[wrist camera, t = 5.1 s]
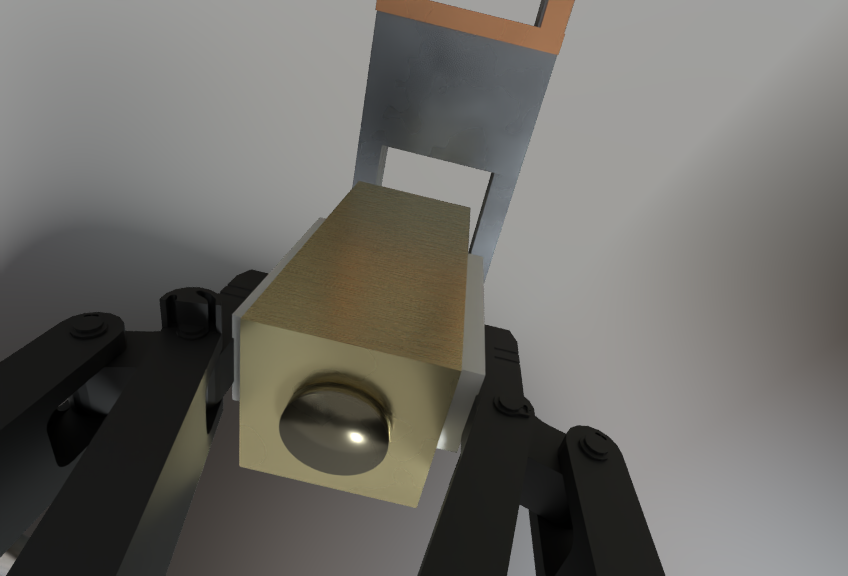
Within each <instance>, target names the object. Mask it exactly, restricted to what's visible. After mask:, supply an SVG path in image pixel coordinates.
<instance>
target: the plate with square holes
mask: <svg viewBox="0 0 848 576" xmlns="http://www.w3.org/2000/svg"><path fill="white" fill-rule="evenodd" d="M574 1H575V0H541V4H540V7H539V11H538V14H537V18H536V21H535V25H534V26H531V25H527V24H523V23H519V22H515V21H511V20H507V19H502V18H499V17H494V16H491V15H487V14H482V13H478V12H474V11H470V10H466V9H462V8H458V7H454V6H450V5H446V4H442V3H438V2H434V1H430V0H377V3H376V10H377V14H376V21H375V29H374V36H373V43H372V50H371V58H370V64H369V72H368V79H367V87H366V94H365V100H364V108H363V116H362V122H361V130H360V137H359V144H358V151H357V158H356V166H355V173H354V180H353V187H354V186H355V185H356V184H357V183H358V181H362V182H366V183H370V184H374V185H378V186H381V185H382V179H383V173H384V167H385V161H386V155H387V149H388V147H392V148H396V149H400V150H404V151H408V152H412V153H416V154H420V155H424V156H428V157H432V158H436V159H441V160H444V161H448V162H453V163H457V164H460V165H464V166H468V167H473V168H476V169H480V170H485V171H489V172H492V173H491V176H490V180H489V183H488V186H487V190H486V193H485V197H484V200H483V204H482V207H481V211H480V214H479V218H478V221H477V224H476V228H475V231H474V235H473V238H472V242H471V245H470V248H469V252H468V253H469V254H473V255H477V256H481V257H483V272H484V281H485V278H486V275H487V272H488V269H489V266H490V263H491V260H492V257H493V253H494V250H495V247H496V244H497V241H498V238H499V235H500V232H501V229H502V225H503V222H504V219H505V216H506V213H507V210H508V207H509V204H510V201H511V197H512V194H513V191H514V188H515V185H516V182H517V179H518V175H519V173H520V169H521V166H522V163H523V160H524V157H525V154H526V151H527V148H528V144H529V142H530V138H531V135H532V132H533V129H534V126H535V123H536V120H537V116H538V113H539V110H540V107H541V104H542V101H543V98H544V95H545V92H546V89H547V85H548V82H549V79H550V76H551V73H552V70H553V67H554V63H555V61H556V57H557V55H558V54H559V51H560V48H561V45H562V42H563V39H564V36H565V34H564V32H565V29H566V26H567V23H568V20H569V17H570V14H571V11H572V8H573V4H574ZM353 187H352V188H353Z"/></svg>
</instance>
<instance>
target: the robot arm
mask: <svg viewBox="0 0 848 576" xmlns="http://www.w3.org/2000/svg"><path fill="white" fill-rule="evenodd" d="M325 220H326V219H324V218H319V219H318V220H317V221H316V222H315V223H314V224H313V226H312V227H311V228H310V229H309V230H308V231H307V232H306V233H305V234H304V236H303V237H302V238H301V239H300V240H299V241H298V242H297V243H296V244H295V246H294V247H293V248H292V249H291V250H290V251H289V252H288V253H287V254H286V256H285V257H284V258H283V259H282V260H281V261H280V262H279V263H278V264H277V265H276V267H275V268H274V269H273V270H272V271H271V272H270V273H269V274H268V273H264V272H259V271H255V270H249V271H246V272H244V273H242V274H239V275H237V276H236V277H235V278H234V279H233V280H232V281H231V282H230V283H229V284H228V286H226V287H224V288H223V289H222V290H221V292H220V294H219V293H218V294H217V293H215V292H213V291H211V290H209V289H204V288H200V287H186V288H181V289H175V290H173V291H171V292H168V293H166V294H165V295H164V296H163V297H161V298H160V309H161V319H162V330H161V331H154V332H145V331H125V325H124V322H123V321H122V320H121V318H120V317H118V316H116V315H113V314H111V313H102V312H93V313H84V314H80V315H76V316H72V317H70V318H68V319H66V320H64V321H62V322H60V323H59V324H57V325H56V326H54V327H53V328H51V329H50V330H48V331H47V332H45V333H44V334H42V335H41V336H39V337H38V338H36V339H35V340H33V341H32V342H30V343H29V344H27V345H26V346H24V347H23V348H21V349H20V350H18V351H17V352H15V353H13V354H12V355H11V356H9V357H7V358H6V359H4V360H3V361H1V362H0V557H1V556H2V555H3V554H4V553H5V552H6V551H7V550H8V549H9V548H10V547H11V545H12V544H13V543H14V542H15V541H16V540H17V539H18V538H19V537H20V536H21V535H22V534H23V533H24V531H26V529H27V528H28V527H29V526H30V525H31V524H32V523H33V522H34V521H35V520H36V519H37V518H38V517H39V516H40V514H41V513H42V512H43V511H44V510H45V509H46V508H47V507H48V506H49V505H50V504H51V503H52V504H51V505H50V507H49V509H48V510H47V512H46V513H45V515H44V517H43V518H42V520H41V521H40V523H39V524H38V526H37V528H36V529H35V531H34V532H33V534H32V535H31V537H30V539H29V540H28V542H27V543H26V545H25V547H24V548H23V550H22V551H21V553H20V554H19V556H18V558H17V559H16V561H15V562H14V564H13V566H12V567H11V569H10V570H9V572H8V573H7V575H6V576H166V573H167V570H168V567H169V564H170V561H171V559H172V556H173V552H174V550H175V547H176V544H177V541H178V538H179V535H180V532H181V530H182V527H183V524H184V521H185V518H186V515H187V513H188V510H189V507H190V504H191V501H192V498H193V495H194V492H195V490H196V487H197V484H198V481H199V478H200V475H201V472H202V470H203V466H204V464H205V461H206V458H207V455H208V452H209V449H210V447H211V444H212V441H213V438H214V435H215V432H216V429H217V426H218V423H219V421H220V417H221V415H222V412H223V396H224V395H225V394H226V392H227V391H228V389H229V388H230V386H231V385H232V394H233V395H232V399H233V400H237V401H240V318H241V317H242V316H243V315H244V314H245V313H246V311H247V310H248V309H249V308H250V307H251V306H252V304H253V303H254V302H255V301H256V300H257V299H258V297H259V296H260V295H261V294H262V293H263V292H264V291H265V289H266V288H267V287H268V286H269V285H270V284H271V282H272V281H273V280H274V279H275V278H276V277H277V275H278V274H279V273H280V272H281V271H282V270H283V268H284V267H285V266H286V265H287V264H288V263H289V261H290V260H291V259H292V258H293V257H294V256H295V255H296V253H297V252H298V251H299V250H300V249H301V248H302V246H303V245H304V244H305V243H306V242H307V241H308V239H309V238H310V237H311V236H312V235H313V234H314V232H315V231H316V230H317V229H318V228H319V227H320V225H321V224H322V223H323V222H324V221H325ZM519 363H520V361H519V355H518V345H517V341H516V339H515V338H514V337H513V335H512V334H511V332H510V331H509V330H505V329H501V328H497V327H493V326H489V325H485V324H484V272H483V257H481V256H477V255H473V254H469V253H468V262H467V280H466V299H465V318H464V336H463V355H462V372H461V375H460V378H459V381H458V384H457V387H456V390H455V393H454V396H453V399H452V402H451V405H450V408H449V411H448V414H447V417H446V420H445V423H444V426H443V429H442V432H441V435H440V438H439V441H438V444H437V447H436V448H439V449H443V450H448V451H451V452H456V453H457V451H458V448H459V445H460V443H461V454H460V457H459V460H458V462H457V465H456V468H455V470H454V473H453V476H452V478H451V481H450V484H449V488H448V490H447V493H446V496H445V499H444V502H443V505H442V507H441V510H440V513H439V516H438V519H437V522H436V524H435V527H434V530H433V533H432V536H431V538H430V541H429V544H428V547H427V550H426V553H425V555H424V558H423V561H422V564H421V567H420V570H419V572H418V575H417V576H507V572H508V566H509V561H510V555H511V549H512V544H513V538H514V532H515V527H516V521H517V515H518V510H519V504H520V505H522V506H523V507H525V508H528V509H529V518H530V526H531V535H532V544H533V553H534V561H535V570H536V576H665V573H664V570H663V567H662V565H661V562H660V559H659V556H658V554H657V551H656V548H655V545H654V542H653V539H652V537H651V534H650V531H649V529H648V525H647V522H646V520H645V517H644V514H643V511H642V508H641V506H640V503H639V500H638V497H637V494H636V492H635V489H634V486H633V483H632V480H631V478H630V475H629V472H628V469H627V466H626V463H625V461H624V458H623V455H622V453H621V451H620V450H619V448H618V446H617V445H616V444H615V443H614V442H613V441H612V440H611V438H609V437H608V436H607V435H605V434H604V433H602V432H601V431H599V430H597V429H594V428H592V427H589V426H580V425H579V426H575V427H572V428H570V429H569V431H568V432H567V433H566V434H565V433H563V432H561V431H559V430H557V429H555V428H553V427H551V426H549V425H547V424H546V423H544V422H542V421H541V420H540V419H538V418H537V417H536V416H535V413H534V408H533V406H532V405H531V403H530V401H529V400H527V399H526V398H525V397H524V393H523V385H522V377H521V369H520V364H519ZM67 398H68V400H67V401H66V402H65V403H63V402H64V401H65V400H66V399H67ZM61 403H63V404H62V405H61V406H59V405H60V404H61ZM58 406H59V407H58Z"/></svg>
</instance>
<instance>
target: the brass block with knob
mask: <svg viewBox="0 0 848 576" xmlns="http://www.w3.org/2000/svg"><path fill="white" fill-rule="evenodd" d="M469 223H470V208H469V207H465V206H461V205H456V204H452V203H448V202H444V201H440V200H436V199H432V198H427V197H423V196H419V195H415V194H411V193H407V192H403V191H398V190H395V189H390V188H386V187H382V186H378V185H374V184H370V183H366V182H362V181H358V183H357V184H356V185H355V186H354V187H353V188H352V190H351V191H350V192H349V193H348V194H347V195H346V196H345V198H344V199H343V200H342V201H341V202H340V203H339V205H338V206H337V207H336V208H335V209H334V210H333V212H332V213H331V214H330V215H329V216H328V218H327V219H326V220H325V221H324V222H323V223H322V224H321V225H320V227H319V228H318V229H317V230H316V231H315V232H314V234H313V235H312V236H311V237H310V238H309V239H308V241H307V242H306V243H305V244H304V245H303V246H302V248H301V249H300V250H299V251H298V252H297V253H296V255H295V256H294V257H293V258H292V259H291V260H290V261H289V263H288V264H287V265H286V266H285V267H284V268H283V270H282V271H281V272H280V273H279V274H278V275H277V277H276V278H275V279H274V280H273V281H272V282H271V284H270V285H269V286H268V287H267V288H266V289H265V291H264V292H263V293H262V294H261V295H260V296H259V297H258V299H257V300H256V301H255V302H254V303H253V304H252V306H251V307H250V308H249V309H248V310H247V311H246V313H245V314H244V315H243V316H242V317H241V318H240V450H239V451H240V452H239V455H240V456H239V461H240V462H239V466H241V467H245V468H249V469H253V470H258V471H262V472H266V473H270V474H274V475H278V476H283V477H287V478H292V479H295V480H300V481H304V482H308V483H312V484H317V485H321V486H325V487H330V488H334V489H338V490H342V491H346V492H351V493H355V494H359V495H363V496H368V497H372V498H376V499H380V500H384V501H389V502H393V503H397V504H402V505H406V506H410V507H414V508H417V505H418V502H419V499H420V496H421V493H422V490H423V486H424V484H425V481H426V478H427V474H428V472H429V468H430V465H431V462H432V459H433V456H434V453H435V450H436V447H437V444H438V441H439V438H440V435H441V432H442V429H443V426H444V423H445V420H446V417H447V414H448V411H449V408H450V405H451V402H452V399H453V396H454V393H455V390H456V387H457V384H458V381H459V378H460V375H461V372H462V355H463V336H464V318H465V299H466V280H467V262H468V243H469V225H470V224H469Z"/></svg>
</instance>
